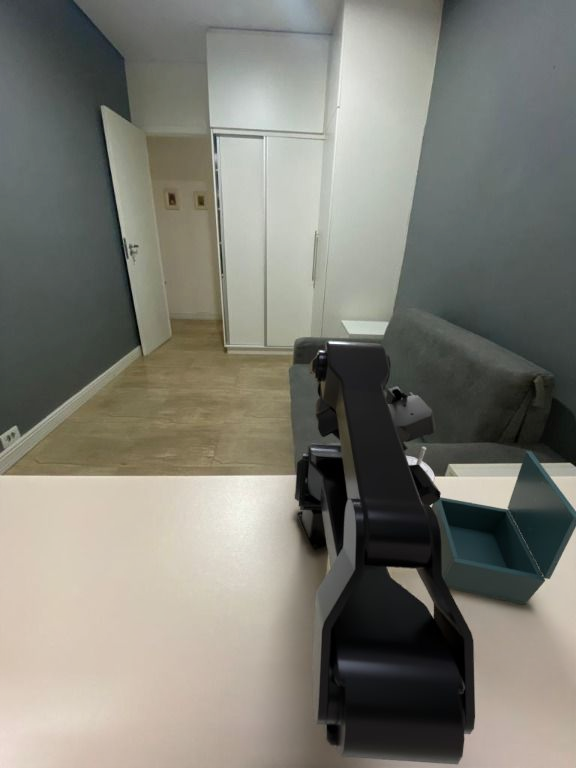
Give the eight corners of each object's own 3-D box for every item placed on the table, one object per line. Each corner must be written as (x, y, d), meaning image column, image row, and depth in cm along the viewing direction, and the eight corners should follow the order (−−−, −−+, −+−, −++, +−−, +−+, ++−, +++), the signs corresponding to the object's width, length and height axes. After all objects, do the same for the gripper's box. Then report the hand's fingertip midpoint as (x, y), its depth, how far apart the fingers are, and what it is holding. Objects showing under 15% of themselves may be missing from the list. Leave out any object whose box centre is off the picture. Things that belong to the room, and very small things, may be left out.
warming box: (440, 586, 40) (454, 561, 38) (425, 520, 49) (435, 496, 46) (525, 605, 39) (545, 580, 36) (493, 533, 48) (508, 509, 45)
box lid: (574, 517, 31) (581, 517, 31) (525, 450, 40) (531, 450, 40) (544, 578, 36) (550, 579, 36) (507, 507, 45) (511, 508, 45)
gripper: (451, 432, 30) (505, 500, 37) (376, 353, 46) (424, 411, 53) (360, 494, 33) (426, 547, 40) (319, 399, 49) (372, 449, 56)
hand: (411, 479), depth 47 cm, fingers open, 9 cm apart
